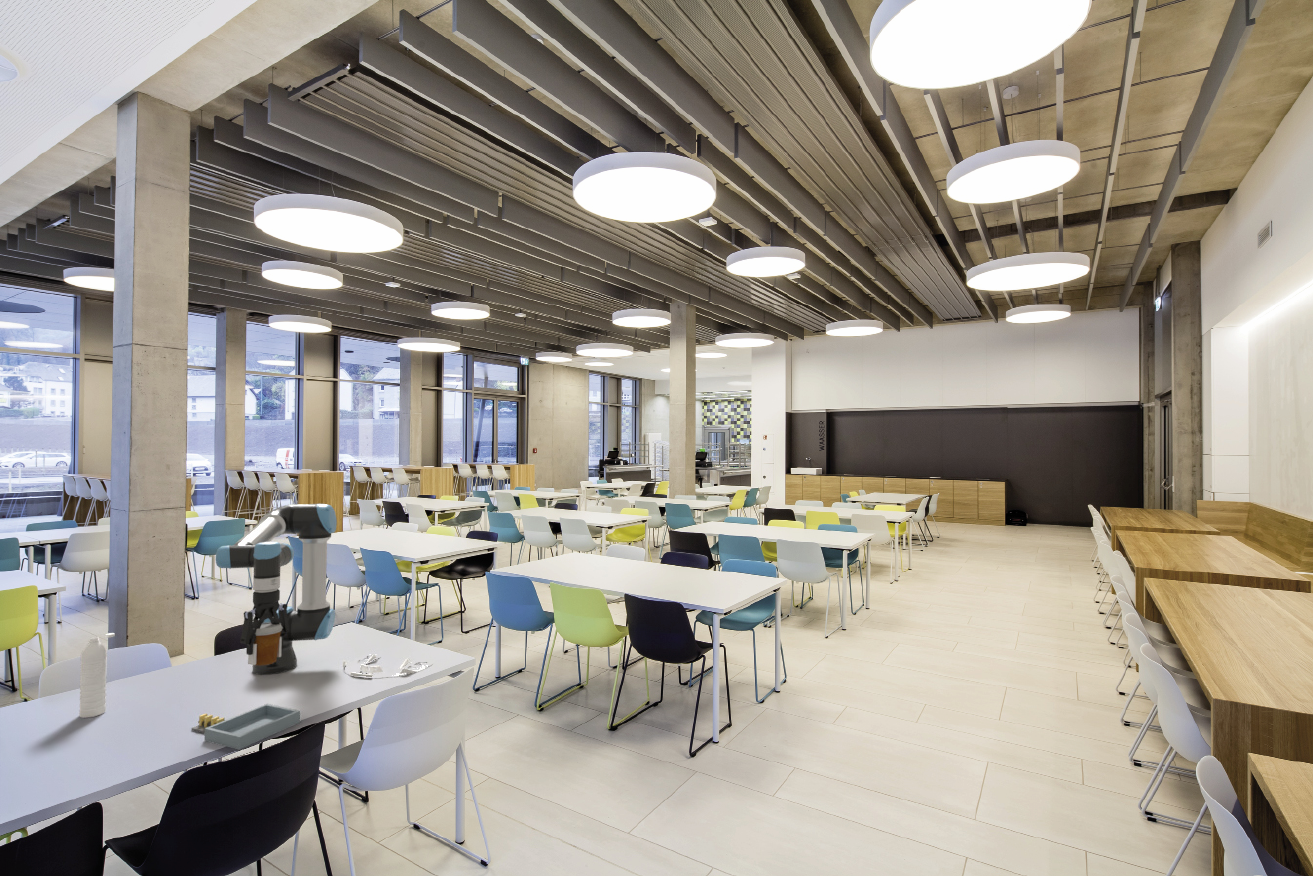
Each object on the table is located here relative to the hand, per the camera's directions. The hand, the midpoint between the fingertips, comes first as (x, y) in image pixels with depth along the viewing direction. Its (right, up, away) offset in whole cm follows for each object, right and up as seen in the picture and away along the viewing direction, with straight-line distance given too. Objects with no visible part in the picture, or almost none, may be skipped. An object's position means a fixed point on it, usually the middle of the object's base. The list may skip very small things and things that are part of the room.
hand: (264, 660), depth 208 cm
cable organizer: (+18, -20, +46) cm, 54 cm away
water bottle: (-56, -18, +2) cm, 59 cm away
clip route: (-10, -18, -10) cm, 23 cm away
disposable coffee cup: (0, -1, 0) cm, 1 cm away
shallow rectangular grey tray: (+3, -18, -11) cm, 21 cm away
